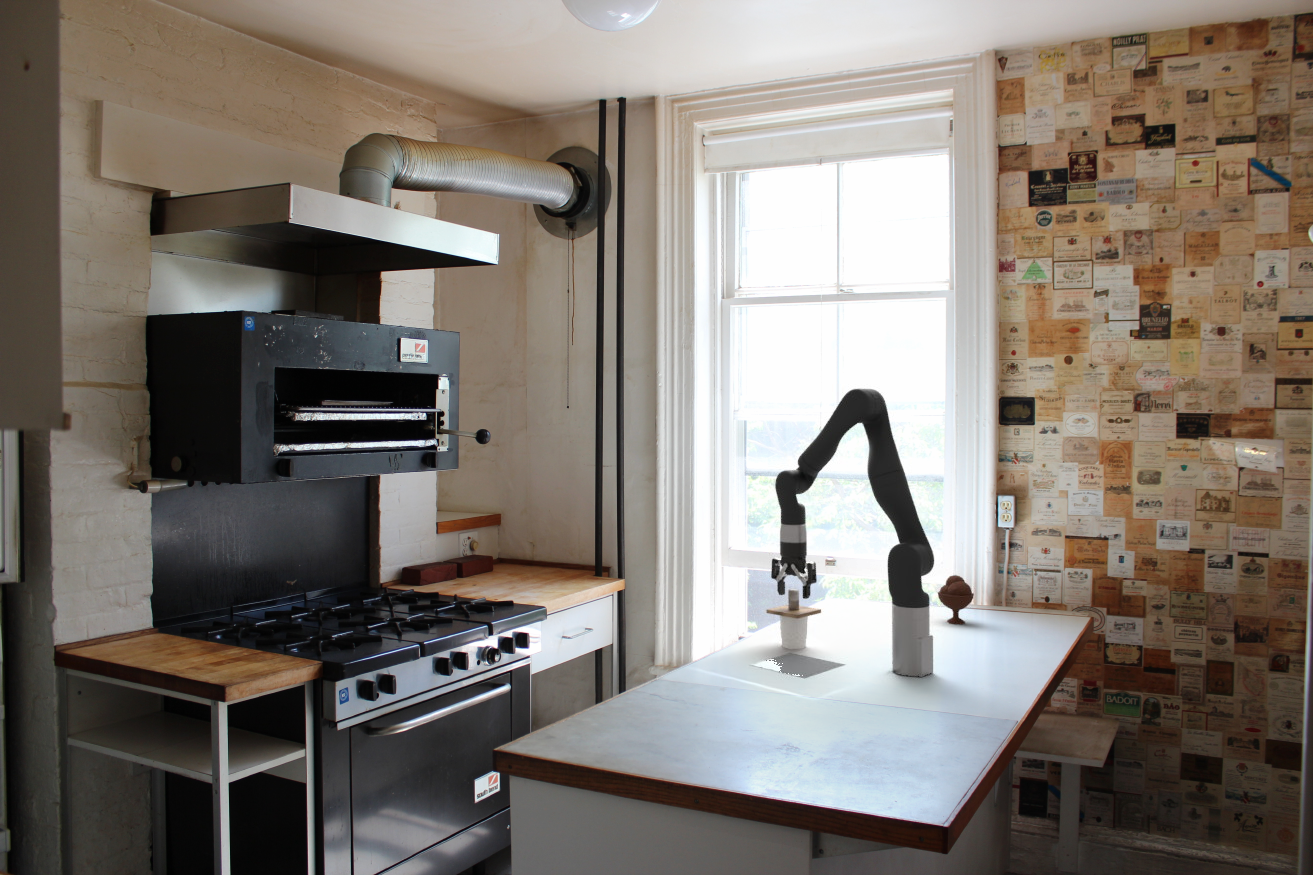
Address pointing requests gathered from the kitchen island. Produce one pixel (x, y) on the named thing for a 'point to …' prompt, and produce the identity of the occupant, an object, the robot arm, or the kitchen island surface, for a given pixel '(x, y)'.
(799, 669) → the mat
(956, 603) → the ice cream bowl
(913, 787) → the kitchen island surface
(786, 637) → the white cup
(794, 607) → the lid
